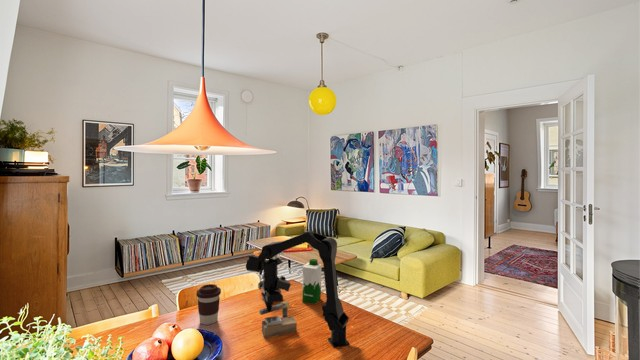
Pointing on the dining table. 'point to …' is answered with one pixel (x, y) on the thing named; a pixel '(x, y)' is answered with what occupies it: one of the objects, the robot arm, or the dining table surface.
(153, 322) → the dining table surface
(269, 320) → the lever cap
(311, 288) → the milk carton
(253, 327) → the dining table surface
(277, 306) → the lever
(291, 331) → the grey lever base
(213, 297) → the coffee cup
